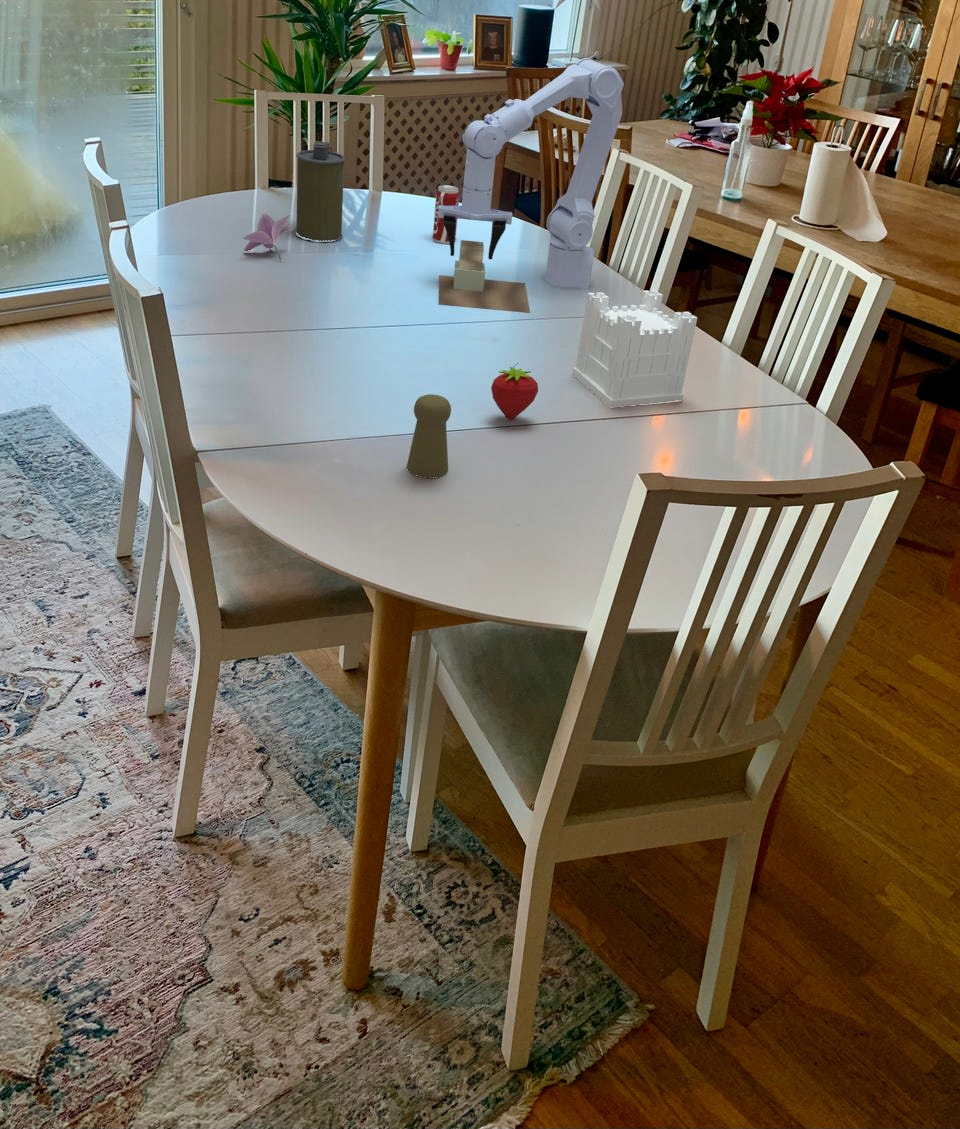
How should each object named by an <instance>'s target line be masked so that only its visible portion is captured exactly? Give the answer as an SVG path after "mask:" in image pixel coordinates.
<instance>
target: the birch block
mask: <svg viewBox="0 0 960 1129" xmlns="http://www.w3.org/2000/svg"><path fill="white" fill-rule="evenodd" d="M484 250H485V246H484V241H477V240H475V241H474V240H465V239H460V248H459V258H458V261H459V269H466V270H477V271H482V263H484V262H483V261H484Z"/></svg>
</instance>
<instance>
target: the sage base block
mask: <svg viewBox="0 0 960 1129" xmlns="http://www.w3.org/2000/svg"><path fill="white" fill-rule="evenodd" d="M453 276H454V289H459V290H470V291H480V292H483V289H484V279H485V276H486V266H485V262H482V271H477V270H466V269H459V260H455V261H454V270H453Z"/></svg>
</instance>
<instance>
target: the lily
mask: <svg viewBox="0 0 960 1129" xmlns="http://www.w3.org/2000/svg"><path fill="white" fill-rule="evenodd" d="M289 218H291V215H290V214H288V215H286V216H283V217H281V218H280V219H278V220H277V221H275V220H274V218H273V217H271V216H270V215H268V214H267V213H262V214H261V216H260V217H259V219H258V222H257V227H256V230H257V231H254V232H251V233H249V234H247V235H246V236H244V237H243V238H242V239H243V240H246V241H248V243H247V244H246V245H245V248H244V249H243V251H248V250H250V251H251V250H253V249H254V248H255V249H256V247H259V246H261V245H262V246H263V247H264V248H265V249H267V248H269V249H270V248H273V249H274V248H275V251H276V253H277V256H278V259H279V261H280V260H282V258H281V256H280V253H279V250H278V247H277V245H276V242H277V239H278V237H279V236H281V235H283V234H285V233H288V232H291V231H293V230H294V229H295V227H294V226H292V225H289V224H286V223H287V221H288V220H289ZM248 252H249V251H248Z"/></svg>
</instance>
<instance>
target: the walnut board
mask: <svg viewBox="0 0 960 1129" xmlns="http://www.w3.org/2000/svg"><path fill="white" fill-rule="evenodd" d="M529 304H530V303H529V298H528V293H527V286H526V282H517V281H507V280H506V281H505V280H497V279H496V280H495V279H487V278H486V279H484V289H483V292H480V291H470V290H459V289H454V275H452V276H451V275H441V274H438V306H439V305H440V306H448V307H449V306H450V307H457V308H458V307H461V308H471V309H482V310H492V311H493V310H494V311H502V312H503V311H505V312H513V313H514V312H516V313H526V314H530V313H531V310H530V305H529Z"/></svg>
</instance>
